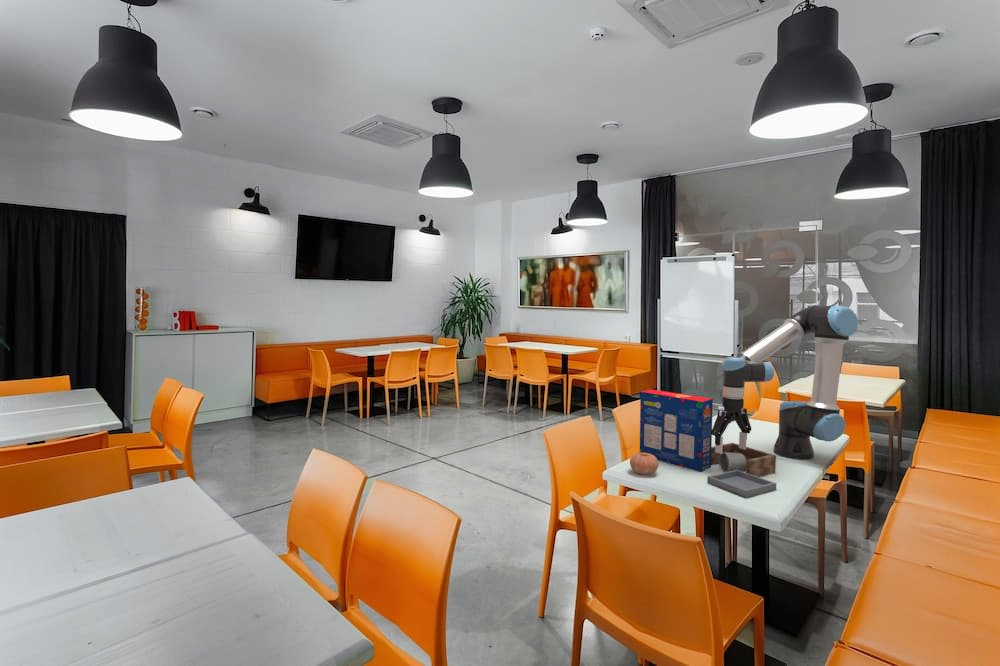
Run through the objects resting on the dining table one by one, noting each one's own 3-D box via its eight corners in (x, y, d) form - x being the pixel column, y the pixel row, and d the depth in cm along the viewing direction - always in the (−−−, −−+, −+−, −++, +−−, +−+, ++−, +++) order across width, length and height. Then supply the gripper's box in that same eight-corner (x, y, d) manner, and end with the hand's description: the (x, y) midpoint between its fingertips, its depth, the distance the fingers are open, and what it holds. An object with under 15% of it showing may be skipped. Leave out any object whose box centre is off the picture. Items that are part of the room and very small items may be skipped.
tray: (736, 475, 194) (737, 469, 194) (776, 490, 180) (776, 483, 180) (707, 483, 187) (707, 476, 187) (745, 498, 173) (746, 491, 172)
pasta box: (710, 467, 204) (712, 398, 202) (700, 472, 199) (702, 401, 197) (650, 451, 225) (651, 389, 223) (639, 455, 220) (640, 391, 218)
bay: (731, 459, 214) (732, 442, 214) (775, 473, 197) (776, 455, 196) (707, 464, 208) (707, 447, 207) (749, 479, 190) (750, 461, 190)
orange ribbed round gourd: (624, 470, 201) (624, 450, 200) (646, 467, 205) (647, 447, 204) (640, 479, 191) (641, 458, 190) (664, 475, 195) (664, 455, 194)
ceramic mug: (748, 474, 196) (748, 454, 195) (728, 475, 195) (728, 455, 195) (732, 465, 206) (733, 447, 206) (713, 466, 205) (714, 447, 205)
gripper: (746, 393, 207) (743, 444, 208) (702, 397, 195) (700, 452, 197) (762, 396, 200) (760, 449, 202) (718, 401, 189) (716, 457, 190)
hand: (730, 450), depth 199 cm, fingers open, 13 cm apart
